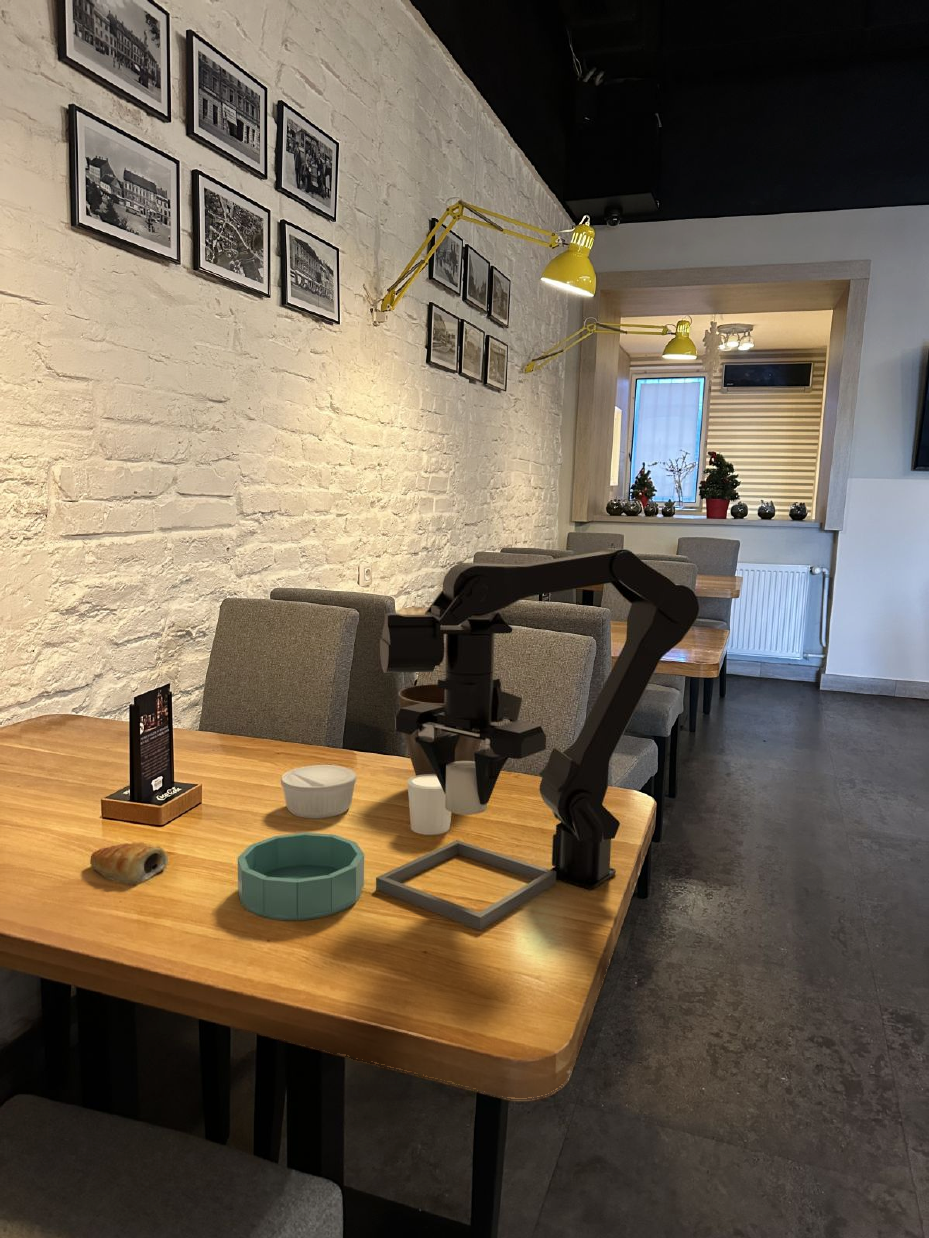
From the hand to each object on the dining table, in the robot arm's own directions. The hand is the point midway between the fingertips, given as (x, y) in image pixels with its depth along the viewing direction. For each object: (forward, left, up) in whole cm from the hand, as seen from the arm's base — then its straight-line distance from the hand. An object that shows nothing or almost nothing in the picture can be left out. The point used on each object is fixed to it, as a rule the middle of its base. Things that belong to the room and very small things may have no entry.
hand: (466, 798), depth 101 cm
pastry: (+34, +24, -12) cm, 43 cm away
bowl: (+14, +14, -11) cm, 22 cm away
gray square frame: (0, 0, -11) cm, 11 cm away
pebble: (0, 0, -1) cm, 1 cm away
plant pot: (+26, -27, -11) cm, 39 cm away
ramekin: (+34, -7, -11) cm, 36 cm away
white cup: (+16, -12, -11) cm, 23 cm away
